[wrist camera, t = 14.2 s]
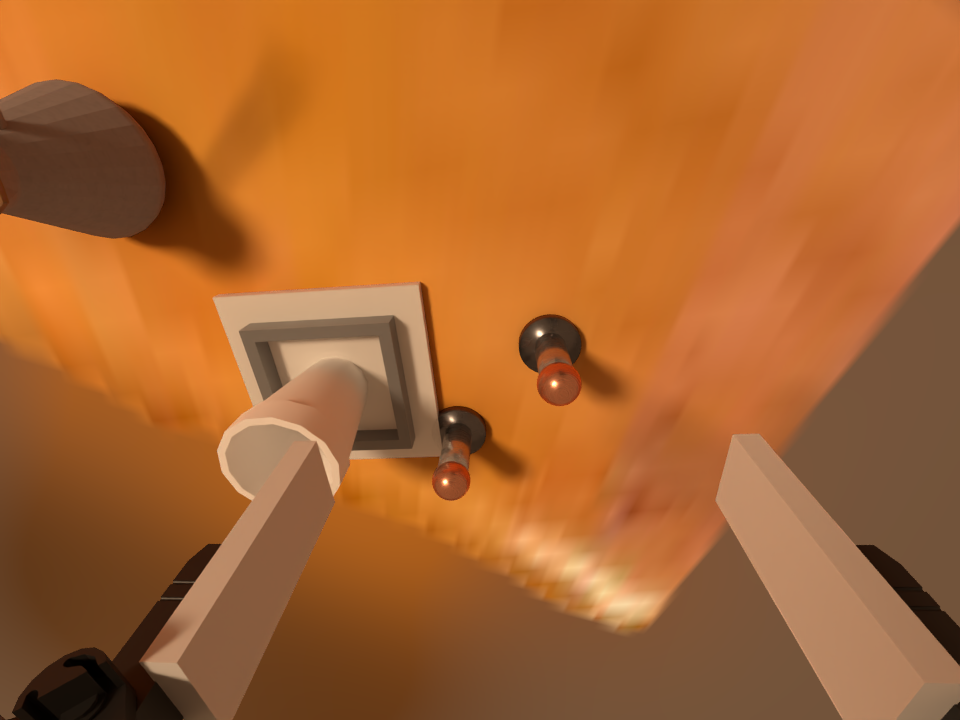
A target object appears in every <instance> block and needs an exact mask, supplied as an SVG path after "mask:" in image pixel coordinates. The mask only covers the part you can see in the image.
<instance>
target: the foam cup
mask: <svg viewBox="0 0 960 720" xmlns="http://www.w3.org/2000/svg"><path fill="white" fill-rule="evenodd" d="M367 393H368V382H367V379H366V378H365V376H364V374H363V372H362V370H361V369H360V368H358V367H357V366H356V365H355V364H353V363H352V362H351V361H349V360H345V359H342V358H339V357H329V358H322V359H321V360H319V361H318V362H316V363H315V364H313V365H312V366H310V367H309V368H307V369H306V370H305V371H303V372H302V373H301V374H299V375H298V376H297V377H295V378H294V379H293V380H291V381H290V382H289V383H287V384H286V385H285V386H283V387H282V388H281V389H279V390H278V391H276V392H275V393H274V394H272V395H271V396H270V397H268V398H267V399H266V400H264V401H263V402H260V403H259V404H257V405H255V406H254V407H252V408H251V409H249V410H247V411H246V412H244V413H243V414H242V415H241V416H240V417H239V418H238V419H237V420H236V421H235V422H234V423H233V424H232V425H231V426H230V427H229V428H228V429H227V430H226V431H225V432H224V435H223V437H222V440H221V442H220V445H219V447H218V450H217V453H218V457H219V461H220V466H221V470H222V473H223V474H224V475H225V477H226V478H227V479H228V480H229V481H230V483H231V484H232V485H233V487H234V488H235V489H236V490H237V491H238V492H239V493H241V494H242V495H244V496H245V497H247V498H249V499H250V500H253V499H254V498H255V496H256V495H257V493H258V492H259V490H260V489H261V488H262V486H263V485H264V483H265V482H266V480H267V479H268V478H269V476H270V475H271V473H272V472H273V470H274V469H275V468H276V466H277V465H278V463H279V462H280V461H281V459H282V458H283V456H284V455H285V453H286V452H287V451H288V449H289V448H290V446H291V445H292V443H293V442H294V441H317V444H318V448H319V451H320V454H321V458H322V461H323V464H324V467H325V471H326V474H327V477H328V481H329V484H330V487H331V491H332V494H333V496H334V494H335V493H336V491H337V489H338V488H339V486H340V484H341V482H342V480H343V478H344V476H345V474H346V472H347V470H348V468H349V465H350V460H349V457H350V454H351V450H352V447H353V443H354V440H355V436H356V433H357V429H358V426H359V422H360V419H361V415H362V412H363V408H364V405H365V401H366V398H367Z"/></svg>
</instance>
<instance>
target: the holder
mask: <svg viewBox="0 0 960 720" xmlns="http://www.w3.org/2000/svg"><path fill="white" fill-rule="evenodd" d="M213 300H214V303H215V305H216V308H217V311H218V313H219V316H220V319H221V321H222V324H223V327H224V329H225V332H226V335H227V337H228V340H229V343H230V345H231V348H232V351H233V353H234V356H235V359H236V361H237V364H238V367H239V369H240V372H241V375H242V377H243V380H244V383H245V385H246V388H247V391H248V393H249V396H250V399H251V401H252V404H253V407H254V406H255V405H257V404H259V403H260V402H263V401H264V400H266V399H267V398H268V397H270V396H271V395H272V394H274V393H275V392H276V391H278V390H279V389H281V388H282V387H283V386H285V385H286V384H287V383H289V382H290V381H291V380H293V379H294V378H295V377H297V376H298V375H299V374H301V373H302V372H303V371H305V370H306V369H307V368H309V367H310V366H312V365H313V364H315V363H316V362H318V361H319V360H321V359H322V358H329V357H339V358H342V359H345V360H349V361H351V362H352V363H353V364H355V365H356V366H357V367H358V368H360V369H361V370H362V372H363V374H364V376H365V378H366V379H367V382H368V393H367V398H366V401H365V405H364V408H363V412H362V415H361V419H360V422H359V426H358V429H357V433H356V436H355V440H354V443H353V447H352V450H351V454H350V457H349V459H378V458H410V457H440V454H441V449H442V443H441V436H440V429H439V425H438V424H439V422H438V415H439V409H438V402H437V395H436V388H435V381H434V374H433V367H432V360H431V353H430V346H429V339H428V332H427V325H426V318H425V311H424V304H423V297H422V290H421V283H420V282H408V283H392V284H376V285H360V286H345V287H329V288H313V289H297V290H281V291H265V292H249V293H234V294H219V295H217V296H215V297H213ZM436 419H437V420H436ZM434 424H435V425H434ZM433 425H434V426H433ZM435 429H436V430H437V432H438V433H437V432H436V430H435ZM433 432H434V435H433ZM436 433H437V434H436ZM435 434H436V435H435ZM432 435H433V436H432ZM437 438H438V439H437ZM439 440H440V441H439ZM440 444H441V445H440Z"/></svg>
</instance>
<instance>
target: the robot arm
mask: <svg viewBox="0 0 960 720" xmlns="http://www.w3.org/2000/svg"><path fill="white" fill-rule="evenodd" d="M715 501H716V503H717V504H718V506H719V508H720V509H721V511H722V513H723V515H724V516H725V518H726V520H727V521H728V523H729V525H730V527H731V528H732V530H733V532H734V534H735V535H736V537H737V539H738V540H739V542H740V544H741V546H742V547H743V549H744V551H745V552H746V554H747V556H748V558H749V559H750V561H751V563H752V564H753V566H754V568H755V570H756V571H757V573H758V575H759V576H760V578H761V580H762V582H763V583H764V585H765V587H766V589H767V590H768V592H769V594H770V595H771V597H772V599H773V601H774V602H775V604H776V606H777V607H778V609H779V611H780V613H781V614H782V616H783V618H784V620H785V621H786V623H787V625H788V626H789V628H790V630H791V632H792V633H793V635H794V637H795V638H796V640H797V642H798V644H799V645H800V647H801V649H802V650H803V652H804V654H805V655H806V657H807V659H808V661H809V663H810V664H811V666H812V668H813V669H814V671H815V673H816V675H817V676H818V678H819V680H820V681H821V683H822V685H823V687H824V688H825V690H826V692H827V694H828V695H829V697H830V698H831V700H832V702H833V704H834V706H835V707H836V709H837V711H838V712H839V714H840V716H841V718H842V719H843V720H960V627H959V626H958V625H957V624H956V623H955V622H954V621H953V620H952V619H951V618H950V617H949V616H948V614H946V612H944V611H941V609H940V606H939V605H938V604H937V603H936V602H935V601H934V599H933V598H932V597H931V596H930V595H929V594H928V593H927V592H924V591H923V590H922V587H921V586H920V584H918V582H917V581H916V580H915V579H914V578H913V577H912V576H911V575H910V574H909V573H908V572H907V571H906V569H905V568H904V567H903V566H902V565H901V564H900V563H898V562H897V561H895V560H894V559H892V558H891V557H890V556H888V555H887V554H885V553H884V552H883V551H881V550H880V549H878V548H877V547H876V546H874V545H855V544H854V543H853V542H852V541H851V540H850V538H849V537H848V536H847V535H846V534H845V533H844V532H843V530H842V529H841V528H840V527H839V526H838V525H837V523H836V522H835V521H834V520H833V519H832V518H831V516H830V515H829V514H828V513H827V512H826V511H825V509H824V508H823V507H822V506H821V505H820V504H819V502H818V501H817V500H816V499H815V498H814V497H813V496H812V494H811V493H810V492H809V491H808V490H807V489H806V487H805V486H804V485H803V484H802V483H801V482H800V480H799V479H798V478H797V477H796V476H795V475H794V474H793V472H792V471H791V470H790V469H789V468H788V467H787V465H786V464H785V463H784V462H783V461H782V460H781V458H780V457H779V456H778V455H777V454H776V453H775V451H774V450H773V449H772V448H771V447H770V446H769V445H768V443H767V442H766V441H765V440H764V439H763V438H762V436H761V435H760V434H733V436H732V439H731V443H730V447H729V451H728V455H727V458H726V462H725V466H724V470H723V473H722V477H721V481H720V485H719V488H718V492H717V496H716V500H715ZM334 503H335V501H334V497H333V494H332V491H331V487H330V484H329V481H328V477H327V474H326V471H325V467H324V464H323V461H322V458H321V454H320V451H319V448H318V444H317V441H294V442H293V443H292V445H291V446H290V448H289V449H288V451H287V452H286V453H285V455H284V456H283V458H282V459H281V461H280V462H279V463H278V465H277V466H276V468H275V469H274V470H273V472H272V473H271V475H270V476H269V478H268V479H267V480H266V482H265V483H264V485H263V486H262V488H261V489H260V490H259V492H258V493H257V495H256V496H255V498H254V499H253V500H252V502H251V503H250V505H249V506H248V507H247V509H246V510H245V512H244V513H243V515H242V516H241V518H240V519H239V520H238V522H237V523H236V525H235V526H234V527H233V529H232V530H231V532H230V533H229V535H228V536H227V537H226V539H225V540H224V542H223V543H222V544H208V545H206V546H205V547H204V548H203V549H202V550H200V551H199V552H198V553H197V554H196V555H195V556H193V557H192V558H191V559H190V560H189V561H188V562H187V563H186V564H185V566H184V567H183V568H182V570H181V571H180V572H179V574H178V575H177V576H176V578H175V579H174V580H173V581H174V582H173V584H171V585H170V586H169V587H168V588H167V590H166V591H165V592H164V594H163V595H162V596H161V600H160V601H158V602H157V603H156V604H155V606H154V607H153V608H152V610H151V611H150V612H149V613H148V615H147V616H146V618H145V619H144V620H143V622H142V623H141V624H140V625H139V627H138V628H137V629H136V631H135V632H134V633H133V635H132V636H131V637H130V639H129V640H128V641H127V643H126V644H125V645H124V647H123V648H122V649H121V651H120V652H119V653H118V654H117V656H116V657H115V658H114V660H113V661H111V660H110V659H109V658H108V657H107V655H106V654H105V653H104V652H103V651H101V650H99V649H97V648H85V649H80V650H78V651H75V652H72V653H70V654H67V655H65V656H63V657H62V658H60V659H59V660H57V661H56V662H54V663H52V664H51V665H49V666H48V667H47V668H45V669H44V670H43V671H42V672H41V673H40V674H39V675H38V676H37V677H35V678H34V679H33V680H32V681H31V683H30V684H29V685H28V686H27V687H26V689H25V690H24V691H23V693H22V694H21V695H20V696H19V698H18V700H17V702H16V705H15V707H14V709H13V711H12V713H13V714H14V715H15V716H16V717H15V718H12V719H8V720H183V719H184V720H232V719H233V717H234V715H235V713H236V711H237V709H238V707H239V705H240V702H241V700H242V698H243V696H244V694H245V692H246V690H247V688H248V686H249V683H250V681H251V679H252V677H253V675H254V673H255V670H256V669H257V666H258V664H259V662H260V660H261V658H262V656H263V654H264V652H265V650H266V647H267V645H268V643H269V641H270V639H271V637H272V635H273V633H274V630H275V628H276V626H277V624H278V622H279V620H280V618H281V615H282V613H283V611H284V609H285V607H286V605H287V603H288V601H289V599H290V597H291V594H292V592H293V590H294V588H295V586H296V584H297V582H298V580H299V577H300V575H301V573H302V571H303V569H304V567H305V565H306V563H307V560H308V558H309V556H310V554H311V552H312V550H313V548H314V545H315V544H316V541H317V539H318V537H319V535H320V533H321V531H322V529H323V527H324V524H325V522H326V520H327V518H328V516H329V514H330V512H331V510H332V507H333V505H334ZM0 720H5V719H4V718H3V717H2V716H1V715H0Z"/></svg>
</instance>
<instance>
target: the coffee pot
mask: <svg viewBox="0 0 960 720" xmlns="http://www.w3.org/2000/svg"><path fill="white" fill-rule="evenodd" d="M165 189H166V181H165V176H164V170H163V165H162V163H161V160H160V158H159V156H158V153H157V151H156V148H155V146H154V145H153V143H152V142H151V140H150V138H149V137H148V135H147V134H146V132H145V131H144V129H143V128H142V127H141V126H140V125H139V124H138V123H137V122H136V121H135V120H134V118H133V117H132V116H131V115H130V114H129V113H128V112H127V111H125V110H124V109H122V108H121V107H120V106H118V105H117V104H115V103H114V102H113V101H111V100H110V99H109V98H107V97H106V96H104V95H103V94H102V93H99V92H97V91H95V90H93V89H90V88H88V87H86V86H84V85H81V84H79V83H75V82H69V81H63V80H57V79H56V80H49V81H43V82H37V83H34V84H32V85H29V86H27V87H25V88H23V89H21V90H19V91H17V92H15V93H13V94H11V95H9V96H6V97H4V98H2V99H0V214H1V213H3V214H7V215H12V216H16V217H20V218H24V219H28V220H32V221H36V222H40V223H44V224H49V225H53V226H57V227H61V228H65V229H69V230H73V231H77V232H82V233H86V234H90V235H94V236H100V237H106V238H122V237H130V236H133V235H135V234H137V233H139V232H141V231H143V230H145V229H146V228H147V227H148V226H149V225H150V224H151V223H152V222H153V221H154V220H155V219H156V217H157V216H158V215H159V213H160V210H161V208H162V205H163V203H164V200H165Z"/></svg>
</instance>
